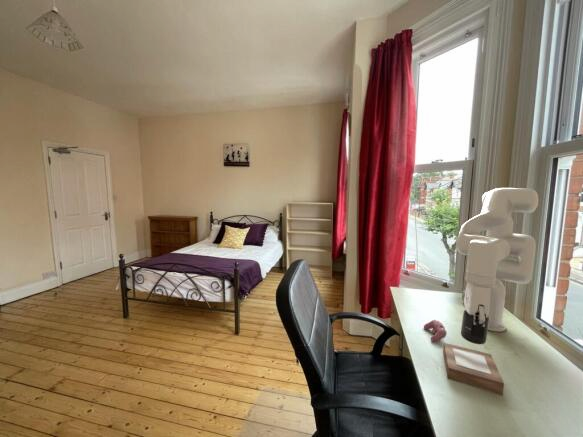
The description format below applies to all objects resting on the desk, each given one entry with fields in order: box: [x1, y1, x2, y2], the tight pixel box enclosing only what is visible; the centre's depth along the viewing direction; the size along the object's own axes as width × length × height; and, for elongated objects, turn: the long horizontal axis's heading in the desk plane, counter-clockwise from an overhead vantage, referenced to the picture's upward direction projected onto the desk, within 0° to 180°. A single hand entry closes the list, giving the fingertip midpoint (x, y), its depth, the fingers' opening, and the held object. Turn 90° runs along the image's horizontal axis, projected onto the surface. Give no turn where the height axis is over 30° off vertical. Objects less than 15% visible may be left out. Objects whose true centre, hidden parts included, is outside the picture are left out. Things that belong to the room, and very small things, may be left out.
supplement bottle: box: [460, 309, 489, 345], centre depth 79 cm, size 7×7×12 cm
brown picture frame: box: [442, 342, 505, 396], centre depth 82 cm, size 14×14×4 cm
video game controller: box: [423, 319, 447, 342], centre depth 101 cm, size 10×5×7 cm, turn 169°
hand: (474, 329), depth 80 cm, fingers closed on supplement bottle, 6 cm apart
